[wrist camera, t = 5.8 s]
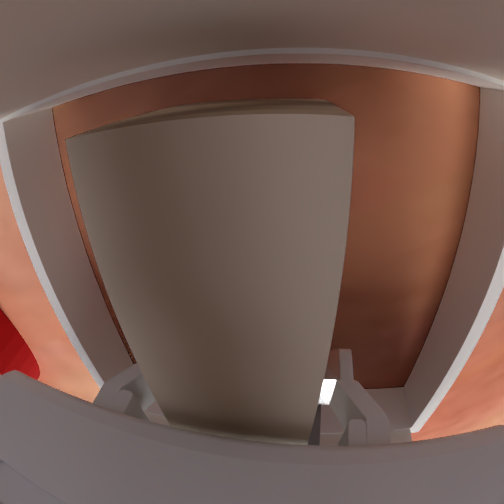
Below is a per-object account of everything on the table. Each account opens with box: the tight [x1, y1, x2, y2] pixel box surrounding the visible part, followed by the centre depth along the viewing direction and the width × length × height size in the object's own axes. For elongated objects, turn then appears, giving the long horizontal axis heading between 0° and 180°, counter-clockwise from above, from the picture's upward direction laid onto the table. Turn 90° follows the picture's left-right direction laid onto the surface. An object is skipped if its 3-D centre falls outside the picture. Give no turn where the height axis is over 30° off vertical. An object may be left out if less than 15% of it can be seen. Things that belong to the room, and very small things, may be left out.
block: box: [65, 98, 355, 446], centre depth 11 cm, size 6×18×6 cm, turn 3°
